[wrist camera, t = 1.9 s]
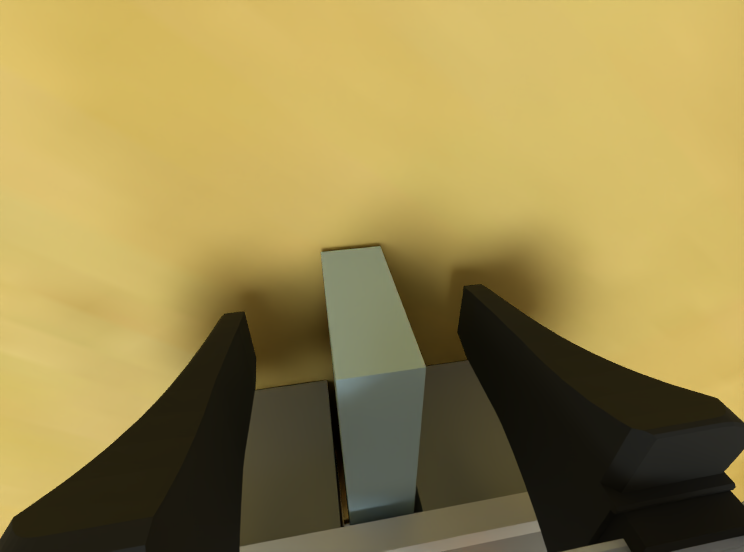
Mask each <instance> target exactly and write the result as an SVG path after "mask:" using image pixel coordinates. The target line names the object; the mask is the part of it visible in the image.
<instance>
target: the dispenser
mask: <svg viewBox="0 0 744 552" xmlns="http://www.w3.org/2000/svg"><path fill="white" fill-rule="evenodd" d="M240 552H547V549H546V546H545V543H544V540H543V537H542V534H541V530H540V527H539V524H538V521H537V518H536V515H535V512H534V509H533V506H532V503H531V500H530V498H529V495H528V492H527V489H526V486H525V483H524V480H523V478H522V475H521V473H520V470H519V467H518V465H517V462H516V459H515V457H514V454H513V451H512V449H511V446H510V444H509V442H508V439H507V437H506V434H505V432H504V429H503V427H502V424H501V422H500V420H499V418H498V416H497V414H496V412H495V410H494V408H493V406H492V404H491V403H490V401H489V399H488V397H487V395H486V393H485V391H484V389H483V388H482V386H481V384H480V382H479V380H478V378H477V376H476V374H475V372H474V371H473V369H472V367H471V365H470V363H469V361H468V360H467V361H460V362H453V363H446V364H439V365H432V366H426V375H425V386H424V398H423V409H422V421H421V432H420V444H419V456H418V467H417V479H416V490H415V502H414V513H413V514H409V515H403V516H398V517H393V518H388V519H382V520H377V521H372V522H367V523H362V524H356V525H351V526H346V527H344V519H343V509H342V501H341V492H340V484H339V476H338V467H337V459H336V451H335V442H334V434H333V426H332V418H331V409H330V401H329V393H328V384H327V380H325V381H318V382H311V383H304V384H297V385H290V386H283V387H276V388H269V389H262V390H255V394H254V400H253V407H252V413H251V419H250V425H249V432H248V438H247V444H246V450H245V458H244V467H243V483H242V501H241V524H240Z"/></svg>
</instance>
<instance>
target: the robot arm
mask: <svg viewBox="0 0 744 552" xmlns="http://www.w3.org/2000/svg"><path fill="white" fill-rule="evenodd" d="M458 335H459V338H460V341H461V343H462V346H463V349H464V351H465V354H466V357H467V359H468V361H469V363H470V365H471V367H472V369H473V371H474V372H475V374H476V376H477V378H478V380H479V382H480V384H481V386H482V388H483V389H484V391H485V393H486V395H487V397H488V399H489V401H490V403H491V404H492V406H493V408H494V410H495V412H496V414H497V416H498V418H499V420H500V422H501V424H502V427H503V429H504V432H505V434H506V437H507V439H508V442H509V444H510V446H511V449H512V451H513V454H514V457H515V459H516V462H517V465H518V467H519V470H520V473H521V475H522V478H523V480H524V483H525V486H526V489H527V492H528V495H529V498H530V500H531V503H532V506H533V509H534V512H535V515H536V518H537V521H538V524H539V527H540V530H541V534H542V537H543V540H544V543H545V546H546V549H547V552H744V501H743V502H742V503H741V502H740V501H739V500H738V498H737V497H736V496H735V495H734V494H733V493H732V492H731V491H730V490H733V489H734V488H735V483H734V482H733V481H732V480H731V479H730V478H729V477H728V476H727V475H726V473H725V472H724V471H725V470H726V469H727V468H728V467H729V466H730V464H731V463H732V462H733V461H734V460H735V459H736V458H737V457H738V455H739V454H740V453H741V452H742V451H743V450H744V422H743V421H742V420H741V419H739V418H738V417H737V416H736V415H735V414H734V413H733V412H732V411H731V410H730V409H729V408H727V407H726V406H725V405H724V404H723V403H722V402H721V401H720V400H719V399H717V398H715V397H711V396H708V395H705V394H701V393H698V392H695V391H691V390H688V389H685V388H681V387H678V386H674V385H671V384H668V383H665V382H663V381H660V380H657V379H654V378H651V377H648V376H646V375H643V374H640V373H638V372H635V371H633V370H630V369H627V368H625V367H623V366H620V365H618V364H616V363H613V362H611V361H609V360H606V359H604V358H602V357H600V356H598V355H595V354H593V353H591V352H589V351H587V350H585V349H583V348H581V347H579V346H577V345H575V344H574V343H572V342H570V341H568V340H566V339H564V338H562V337H561V336H559V335H557V334H556V333H554V332H552V331H551V330H549V329H547V328H546V327H544V326H542V325H541V324H539V323H538V322H536V321H534V320H533V319H531V318H530V317H528V316H527V315H525V314H524V313H522V312H521V311H519V310H518V309H517V308H515V307H514V306H512V305H511V304H509V303H508V302H507V301H505V300H504V299H502V298H501V297H499V296H498V295H497V294H495V293H494V292H492V291H491V290H489V289H488V288H486V287H485V286H483V285H482V284H479V285H470V286H464V289H463V296H462V303H461V310H460V318H459V325H458ZM255 385H256V355H255V351H254V347H253V344H252V340H251V336H250V332H249V328H248V324H247V320H246V316H245V313H244V312H236V313H228V314H224V315H223V316H222V317H221V318H220V320H219V321H218V323H217V324H216V326H215V327H214V329H213V330H212V332H211V333H210V335H209V336H208V338H207V339H206V340H205V342H204V343H203V345H202V346H201V347H200V349H199V350H198V352H197V353H196V354H195V356H194V357H193V358H192V360H191V361H190V362H189V364H188V365H187V366H186V367H185V369H184V370H183V371H182V372H181V374H180V375H179V376H178V377H177V378H176V380H175V381H174V382H173V383H172V384H171V386H170V387H169V388H168V389H167V390H166V391H165V393H164V394H163V395H162V396H161V397H160V398H159V399H158V400H157V401H156V402H155V403H154V405H153V406H152V407H151V408H150V409H149V410H148V411H147V412H146V413H145V414H144V415H143V416H142V417H141V418H140V419H139V420H138V421H137V422H135V423H134V424H133V425H132V426H131V427H130V428H129V429H128V430H127V431H125V432H124V433H123V434H122V435H121V436H120V437H119V438H118V439H117V440H116V441H114V442H113V443H112V444H111V445H110V446H109V447H108V448H106V449H105V450H104V451H103V452H101V453H100V454H99V455H98V456H97V457H95V458H94V459H93V460H92V461H90V462H89V463H88V464H87V465H85V466H84V467H83V468H82V469H80V470H79V471H78V472H76V473H75V474H74V475H73V476H71V477H70V478H69V479H67V480H66V481H65V482H63V483H62V484H60V485H59V486H58V487H56V488H55V489H53V490H52V491H51V492H49V493H48V494H46V495H45V496H43V497H42V498H41V499H39V500H38V501H36V502H35V503H34V504H32V505H31V506H29V507H28V508H26V509H25V510H24V511H22V512H21V513H19V514H18V515H16V516H15V517H13V519H12V521H11V522H10V524H9V526H8V527H7V529H6V530H5V532H4V534H3V535H2V537H1V539H0V552H240V524H241V501H242V483H243V467H244V458H245V450H246V444H247V438H248V432H249V425H250V419H251V413H252V407H253V400H254V394H255ZM346 526H350V523H347V524H344V527H346Z"/></svg>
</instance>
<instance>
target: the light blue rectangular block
mask: <svg viewBox="0 0 744 552" xmlns="http://www.w3.org/2000/svg"><path fill="white" fill-rule="evenodd" d="M321 260H322V270H323V279H324V289H325V298H326V308H327V317H328V327H329V336H330V346H331V355H332V365H333V374H334V384H335V393H336V403H337V412H338V422H339V431H340V441H341V450H342V460H343V469H344V478H345V488H346V497H347V505H348V514H349V523H350V526H351V525H356V524H362V523H367V522H372V521H377V520H382V519H388V518H393V517H398V516H403V515H409V514H413V513H414V502H415V490H416V479H417V467H418V456H419V444H420V432H421V421H422V409H423V398H424V386H425V375H426V366H425V363H424V360H423V358H422V355H421V352H420V350H419V347H418V344H417V342H416V339H415V337H414V334H413V331H412V329H411V326H410V323H409V321H408V318H407V315H406V313H405V310H404V307H403V305H402V302H401V300H400V297H399V294H398V292H397V289H396V286H395V284H394V281H393V278H392V276H391V273H390V270H389V268H388V265H387V263H386V260H385V257H384V255H383V252H382V249H381V247H380V246H376V247H366V248H356V249H346V250H336V251H326V252H321Z"/></svg>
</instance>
